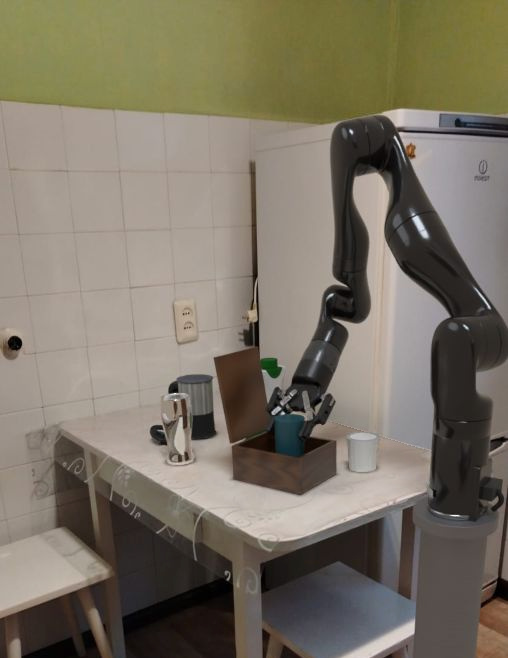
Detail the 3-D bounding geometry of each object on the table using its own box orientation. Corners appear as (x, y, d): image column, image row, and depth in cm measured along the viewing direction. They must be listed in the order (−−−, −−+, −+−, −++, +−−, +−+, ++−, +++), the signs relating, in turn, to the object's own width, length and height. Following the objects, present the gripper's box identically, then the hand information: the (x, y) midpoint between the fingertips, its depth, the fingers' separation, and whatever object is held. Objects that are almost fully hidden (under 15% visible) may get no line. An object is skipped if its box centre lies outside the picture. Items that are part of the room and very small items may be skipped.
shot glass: (339, 466, 137) (339, 435, 135) (365, 460, 140) (366, 429, 138) (359, 475, 132) (360, 443, 129) (385, 469, 134) (386, 437, 132)
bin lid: (257, 346, 136) (254, 346, 136) (216, 357, 126) (213, 357, 126) (271, 427, 140) (269, 427, 141) (232, 443, 130) (229, 443, 131)
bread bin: (336, 474, 133) (336, 440, 130) (300, 495, 123) (299, 459, 121) (271, 460, 143) (270, 429, 140) (233, 479, 133) (231, 445, 131)
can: (310, 472, 132) (310, 416, 128) (294, 481, 128) (293, 423, 124) (286, 467, 136) (285, 412, 132) (270, 476, 132) (268, 419, 127)
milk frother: (222, 431, 167) (219, 374, 162) (194, 449, 154) (189, 388, 148) (175, 427, 173) (170, 372, 167) (143, 444, 159) (137, 385, 154)
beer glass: (188, 467, 142) (183, 400, 136) (160, 464, 144) (153, 399, 139) (200, 456, 148) (195, 393, 142) (172, 455, 150) (167, 392, 145)
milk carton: (264, 447, 152) (261, 363, 145) (239, 439, 159) (236, 358, 152) (290, 439, 157) (289, 357, 150) (266, 432, 164) (263, 353, 157)
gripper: (280, 354, 134) (248, 422, 129) (340, 360, 125) (308, 432, 121) (295, 375, 139) (264, 440, 135) (353, 381, 131) (323, 451, 126)
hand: (285, 436), depth 128 cm, fingers open, 7 cm apart
